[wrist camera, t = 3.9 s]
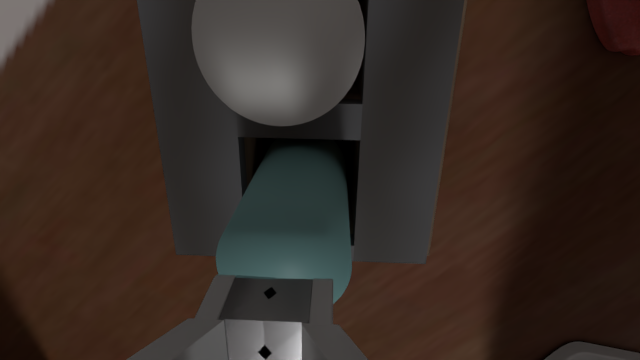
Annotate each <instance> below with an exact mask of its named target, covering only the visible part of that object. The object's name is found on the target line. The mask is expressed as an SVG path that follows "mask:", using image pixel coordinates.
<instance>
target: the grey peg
mask: <svg viewBox="0 0 640 360" xmlns="http://www.w3.org/2000/svg"><path fill="white" fill-rule="evenodd" d="M191 29H192V43H193V49H194V53H195V57H196V60H197V63H198V66H199V68H200V70H201V73H202V75H203V77H204V78H205V80H206V82H207V84H208V85H209V86H210V88H211V89H212V91H213V92H214V93H215V94H216V95H217V97H218V98H219V99H220V100H221V101H222V102H223V103H225V104H226V105H227V106H228V107H229V108H230V109H232V110H233V111H235V112H236V113H238V114H239V115H241V116H243V117H245V118H247V119H249V120H252V121H255V122H258V123H261V124H266V125H272V126H292V125H298V124H303V123H306V122H309V121H312V120H314V119H316V118H318V117H320V116H322V115H324V114H325V113H327V112H328V111H330V110H331V109H332V108H333V107H334V106H336V105H337V104H338V103H339V102H340V101H341V100H342V99H343V97H344V96H345V95H346V94H347V92H348V91H349V89H350V88H351V86H352V85H353V83H354V81H355V79H356V77H357V74H358V72H359V69H360V67H361V63H362V59H363V54H364V46H365V28H364V21H363V16H362V12H361V8H360V5H359V2H358V0H196V2H195V5H194V10H193V15H192V27H191Z"/></svg>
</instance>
